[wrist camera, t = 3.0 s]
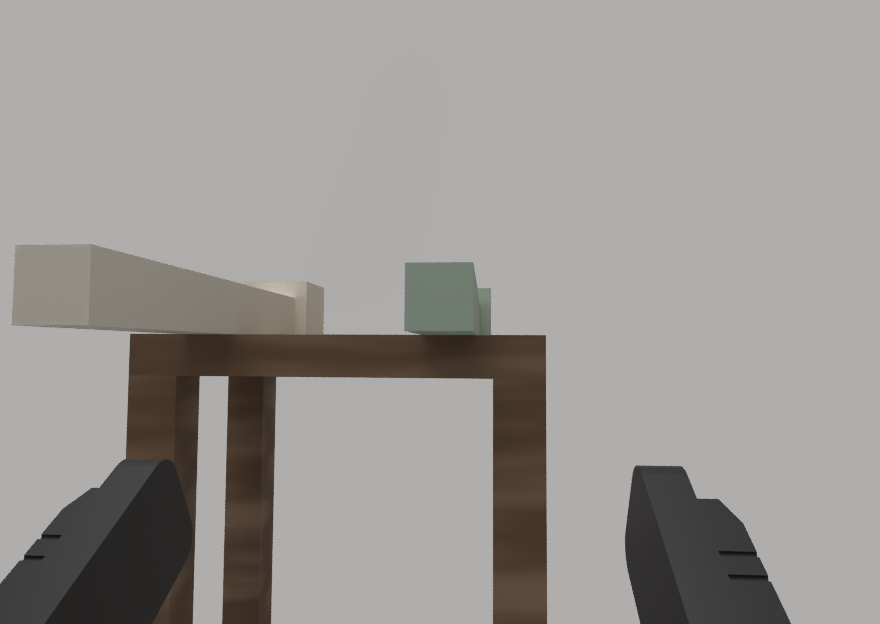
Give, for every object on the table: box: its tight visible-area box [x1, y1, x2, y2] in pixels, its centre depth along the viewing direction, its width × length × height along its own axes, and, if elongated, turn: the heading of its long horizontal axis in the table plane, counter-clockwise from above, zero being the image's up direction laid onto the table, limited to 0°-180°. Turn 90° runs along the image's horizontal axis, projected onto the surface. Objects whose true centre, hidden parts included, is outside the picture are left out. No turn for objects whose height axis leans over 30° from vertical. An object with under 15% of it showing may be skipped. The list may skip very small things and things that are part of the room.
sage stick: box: [404, 262, 491, 335], centre depth 35 cm, size 24×4×4 cm, turn 176°
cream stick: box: [12, 244, 324, 335], centre depth 31 cm, size 24×4×4 cm, turn 175°
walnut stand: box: [126, 334, 547, 624], centre depth 36 cm, size 14×20×32 cm
